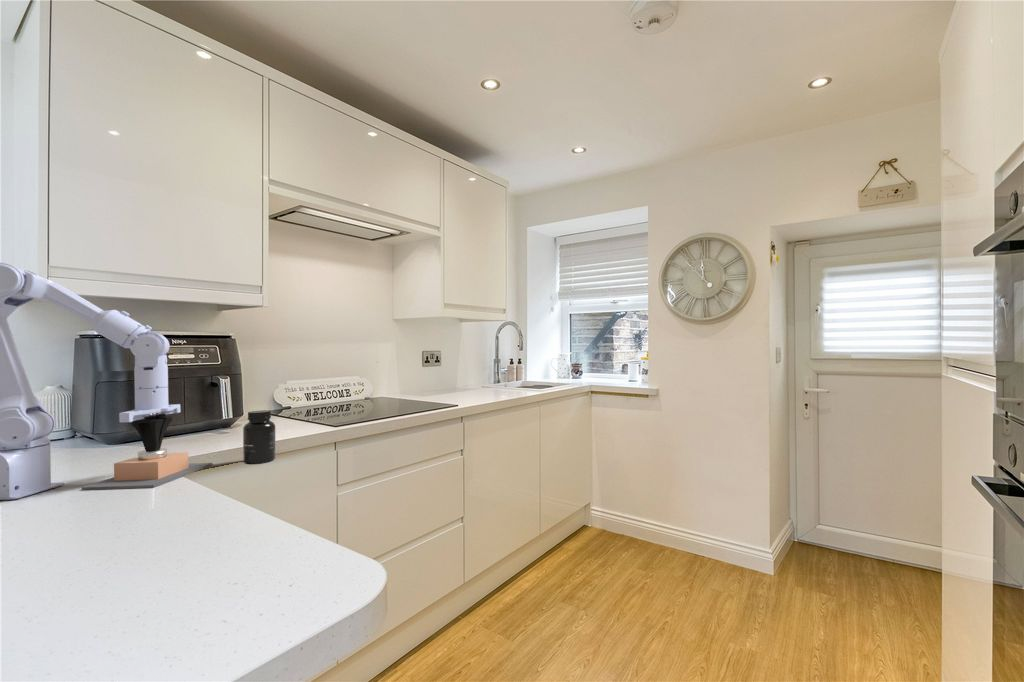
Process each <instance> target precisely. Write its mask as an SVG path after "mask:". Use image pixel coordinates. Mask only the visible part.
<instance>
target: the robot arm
mask: <svg viewBox="0 0 1024 682" xmlns="http://www.w3.org/2000/svg"><path fill="white" fill-rule="evenodd" d="M33 300H38V301H44V302H51V303H53V304H55V305H57V306H59V307H61V308H63V309H64V310H67V311H69V312H71V313H73V314H75V315H77V316H79V317H80V318H83V319H85V320H87V321H88V322H90V323H91V324H92V327H93V330H94V332H95V333H96V334H98V335H100V336H102V337H104V338H106V339H108V340H110V341H112V343H114V344H117V345H118V346H120V347H123V348H124V349H130V352H131V353H132V355H134V367H133V368H134V373H133V374H134V375H133V376H134V409H131V410H128V411H122V412H119V417H118V418H119V423H131V425H132V426H133V428H134V429H135V430H136V432H137V434H138V435H139V436H140V439H141V442H142V444H143V447H144V450H146V452H147V451H158V450H160V448H162V444H163V440H164V436H165V433H166V431H167V429H168V427H169V425H170V424H171V422H172V421H173V416H172V415H171V414H179V413H181V404H180V403H176V404H175V403H174V404H170V403H169V367H168V357H167V354H168V352H169V350H170V347H171V346H170V341H169V339H168V338H167V337H165V336H164V335H163V334H162V333H160V332H156V331H155V332H154V331H153V332H152V331H151V330H152V329H153V327H151V326H150V325H143V324H141V323H140V322H139V321H137V320H135V319H133V318H132V317H130V316H131V315H130V313H128V312H127V311H124V310H121V311H119V310H117V309H111V310H110V309H109V310H103V309H102V308H100V307H99V306H98V305H95V304H94V303H93V302H91V301H88V300H87V299H85V298H83V297H82V296H80V295H79V294H77V293H75V292H73V291H72V290H70V289H68V288H67V287H65V286H64V285H61V283H58V282H56V281H53V280H51V279H48V278H45V277H43V276H41V275H38V274H37V273H36V272H35V273H34V272H33V271H29V270H26V269H21V268H18V267H17V266H15V265H12V264H10V263H7V262H0V501H3V500H18V499H21V498H25V497H28V496H31V495H34V494H38V493H42V492H44V491H47V490H51V489H55V488H57V487H61V486H63V485H65V484H64V482H52V476H51V475H52V468H51V466H52V463H51V460H52V457H51V456H52V455H51V452H52V451H51V449H52V448H51V439H49V435H51V434H52V433H53V431H54V430H55V428H56V420H55V418H54V416H53V415H52V414H51V413H50V412H49V411H47V410H46V408H45V407H44V404H43V402H42V401H41V400H40V399H39V398H38V397H37V396H36V395H35V394H34V392H33V389H32V387H31V384H30V381H29V379H28V378H29V377H28V376H27V373H26V370H25V367H24V364H23V361H22V359H21V356H20V353H19V349H18V347H17V344H16V342H15V339H14V337H13V336H14V335H13V333H12V329H11V327H10V324H9V322H8V318H9V317H10V316H11V314H12V313H14V312H15V311H16V310H17V309H18V308H20V306H23V305H26V304H28V303H30V302H31V301H33Z"/></svg>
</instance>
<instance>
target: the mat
mask: <svg viewBox="0 0 1024 682" xmlns="http://www.w3.org/2000/svg"><path fill="white" fill-rule="evenodd" d="M213 463H214V462H200V463H199V462H195V463H193V462H192V463H189V468H187V469H184V470H182V471H179V472H176V473H174V474H171V475H168V476H165V477H163V478H160V479H147V480H117V481H114V476H113V477H110V478H108V479H104V480H101V481H98V482H94V483H91V484H89V485H85V486H82V487H81V491H88V490H89V491H92V490H94V491H96V490H97V491H98V490H123V489H124V490H126V489H128V490H129V489H151V488H152V489H153V488H156V487H159V486H162V485H164V484H167V483H169V482H172V481H175V480H177V479H179V478H183V477H185V476H187V475H191V474H192V473H195V472H197V471H201V470H203V469H206V468H208V467H211V466H213Z"/></svg>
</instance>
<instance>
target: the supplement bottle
mask: <svg viewBox="0 0 1024 682" xmlns="http://www.w3.org/2000/svg"><path fill="white" fill-rule="evenodd" d="M271 413H272V412H271V410H269V409H267V410H265V409H263V410H261V409H259V410H252V411H248V412H247V421H248V422H247V423H245V425H244V426H243V428H242V446H243V447H242V454H243V456H242V458H243V463H244V464H245V465H263V464H267V463H271V462H274V461H275V460H276V455H277V454H276V453H277V452H276V451H277V450H276V424H275V422H273V421H271V419H272V415H271Z"/></svg>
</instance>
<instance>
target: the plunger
mask: <svg viewBox="0 0 1024 682" xmlns="http://www.w3.org/2000/svg"><path fill="white" fill-rule="evenodd" d="M167 453H168V448H167V447H160V450H158V451H147V452H146V450H145V449H144V450H143V449H142V450H141V451H138V452H137V457H138V460H154V459H159V458H164V457H167Z"/></svg>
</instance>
